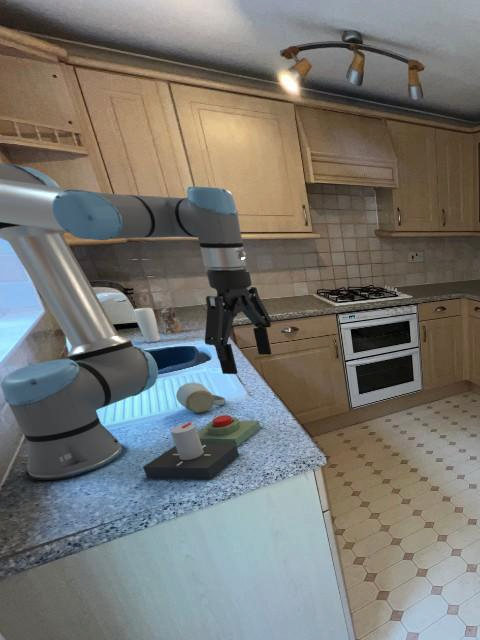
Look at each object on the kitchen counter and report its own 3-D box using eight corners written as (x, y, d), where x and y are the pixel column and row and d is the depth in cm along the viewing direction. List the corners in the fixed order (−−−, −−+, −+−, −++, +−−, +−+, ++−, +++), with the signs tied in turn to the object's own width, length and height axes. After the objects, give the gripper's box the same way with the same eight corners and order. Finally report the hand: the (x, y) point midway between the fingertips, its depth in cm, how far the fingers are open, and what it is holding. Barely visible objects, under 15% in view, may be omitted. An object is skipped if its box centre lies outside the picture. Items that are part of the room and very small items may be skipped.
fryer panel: (147, 478, 89) (142, 466, 88) (181, 454, 98) (178, 443, 97) (210, 479, 89) (206, 467, 88) (239, 455, 98) (236, 444, 97)
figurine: (160, 333, 200) (153, 308, 195) (175, 329, 206) (168, 306, 202) (170, 334, 198) (163, 310, 193) (185, 331, 204) (178, 307, 200)
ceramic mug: (189, 417, 116) (182, 393, 113) (179, 409, 120) (172, 386, 118) (230, 406, 124) (225, 382, 121) (220, 399, 128) (214, 376, 126)
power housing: (190, 445, 102) (185, 431, 100) (217, 427, 111) (213, 414, 110) (237, 446, 102) (233, 432, 100) (260, 427, 111) (257, 414, 110)
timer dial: (194, 460, 90) (185, 431, 88) (174, 460, 90) (164, 431, 88) (208, 450, 94) (199, 422, 92) (189, 449, 94) (180, 422, 92)
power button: (210, 427, 103) (208, 421, 103) (221, 420, 107) (219, 414, 106) (226, 428, 103) (224, 422, 103) (236, 421, 107) (234, 415, 106)
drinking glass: (162, 338, 190) (152, 307, 185) (162, 341, 186) (152, 309, 180) (143, 341, 186) (132, 308, 181) (143, 344, 182) (132, 311, 176)
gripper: (204, 276, 74) (231, 383, 82) (276, 263, 97) (291, 347, 105) (162, 275, 73) (193, 382, 81) (244, 262, 97) (262, 347, 105)
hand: (248, 363), depth 93 cm, fingers open, 13 cm apart
